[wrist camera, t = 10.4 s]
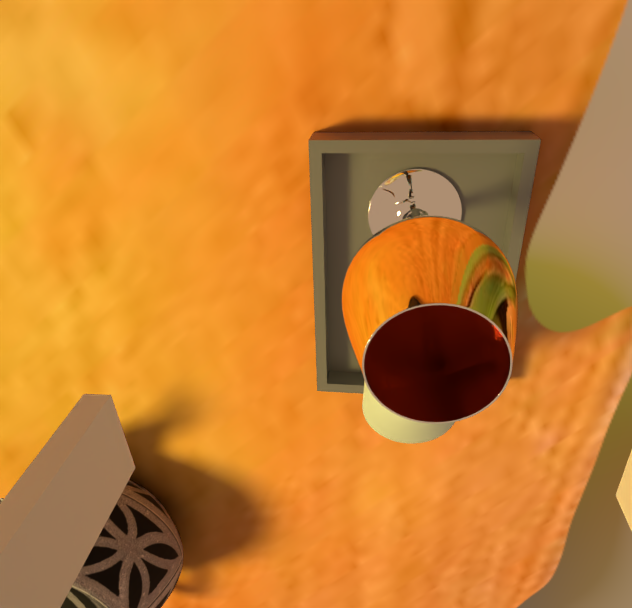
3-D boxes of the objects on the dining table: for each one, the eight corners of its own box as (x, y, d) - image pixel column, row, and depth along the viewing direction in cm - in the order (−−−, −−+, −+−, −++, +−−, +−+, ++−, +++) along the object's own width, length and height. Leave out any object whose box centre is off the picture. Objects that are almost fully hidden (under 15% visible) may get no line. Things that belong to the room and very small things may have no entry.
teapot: (176, 407, 49) (98, 551, 36) (206, 598, 64) (160, 747, 51) (-11, 389, 51) (-149, 519, 38) (61, 579, 66) (-19, 718, 53)
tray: (313, 132, 35) (308, 140, 32) (531, 131, 33) (540, 139, 31) (320, 372, 44) (317, 390, 42) (488, 381, 43) (494, 400, 41)
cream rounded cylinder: (368, 297, 39) (362, 368, 32) (448, 299, 39) (462, 371, 31) (368, 361, 42) (362, 440, 35) (443, 364, 41) (454, 445, 34)
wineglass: (465, 139, 33) (534, 249, 17) (484, 253, 36) (556, 430, 21) (342, 173, 35) (305, 298, 19) (371, 278, 38) (360, 457, 23)
